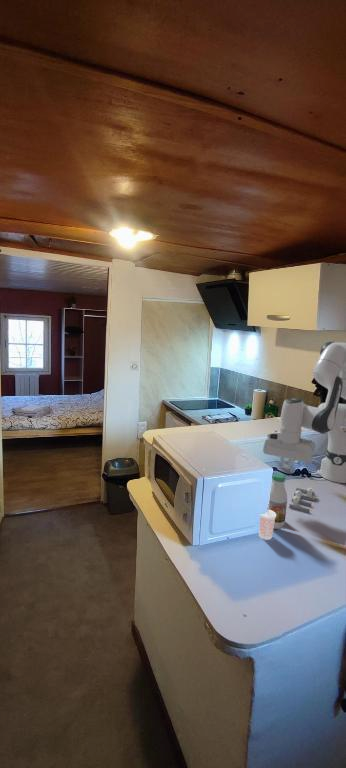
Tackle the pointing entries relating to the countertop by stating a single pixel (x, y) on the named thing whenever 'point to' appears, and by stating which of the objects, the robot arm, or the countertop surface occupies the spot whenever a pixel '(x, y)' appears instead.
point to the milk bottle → (278, 500)
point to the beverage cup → (267, 524)
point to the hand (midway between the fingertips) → (286, 467)
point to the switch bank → (303, 501)
